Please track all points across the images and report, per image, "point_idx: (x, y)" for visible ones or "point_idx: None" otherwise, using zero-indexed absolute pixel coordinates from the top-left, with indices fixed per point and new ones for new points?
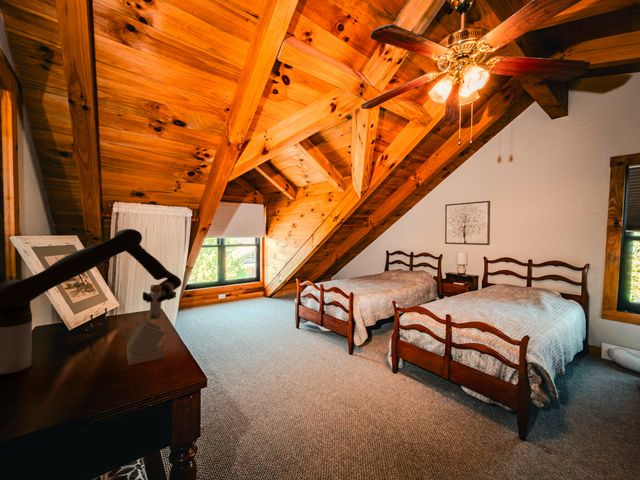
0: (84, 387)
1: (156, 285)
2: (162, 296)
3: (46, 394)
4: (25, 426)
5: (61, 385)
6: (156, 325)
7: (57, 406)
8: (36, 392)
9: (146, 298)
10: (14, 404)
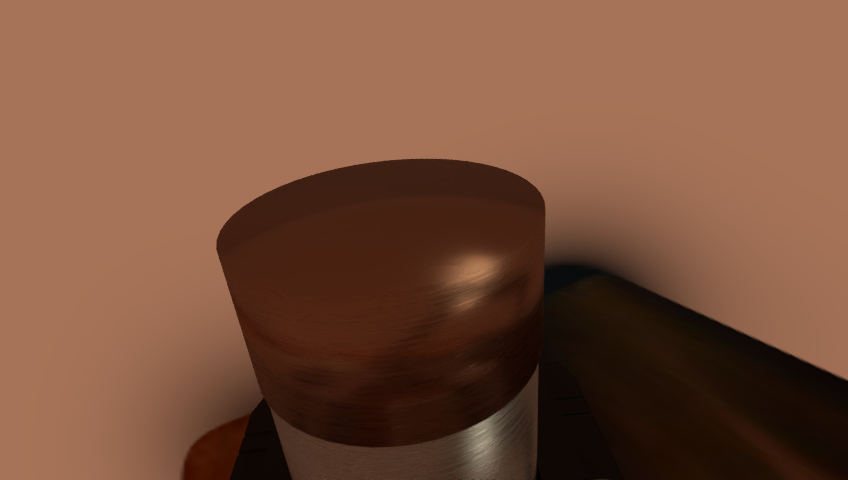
0: (629, 423)
1: (376, 217)
2: (269, 459)
3: (728, 392)
4: (610, 292)
5: (748, 444)
6: None
7: (611, 341)
8: (787, 406)
9: (550, 364)
10: (763, 354)
